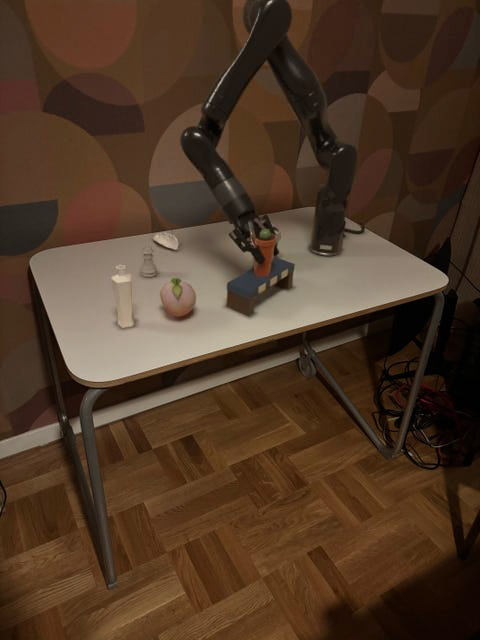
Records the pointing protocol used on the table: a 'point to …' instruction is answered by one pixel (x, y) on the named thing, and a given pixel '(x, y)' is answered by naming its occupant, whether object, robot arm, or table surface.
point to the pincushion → (167, 240)
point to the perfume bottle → (123, 296)
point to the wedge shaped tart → (276, 234)
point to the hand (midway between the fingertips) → (269, 258)
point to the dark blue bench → (257, 285)
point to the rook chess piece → (148, 263)
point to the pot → (265, 252)
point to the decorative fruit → (177, 297)
